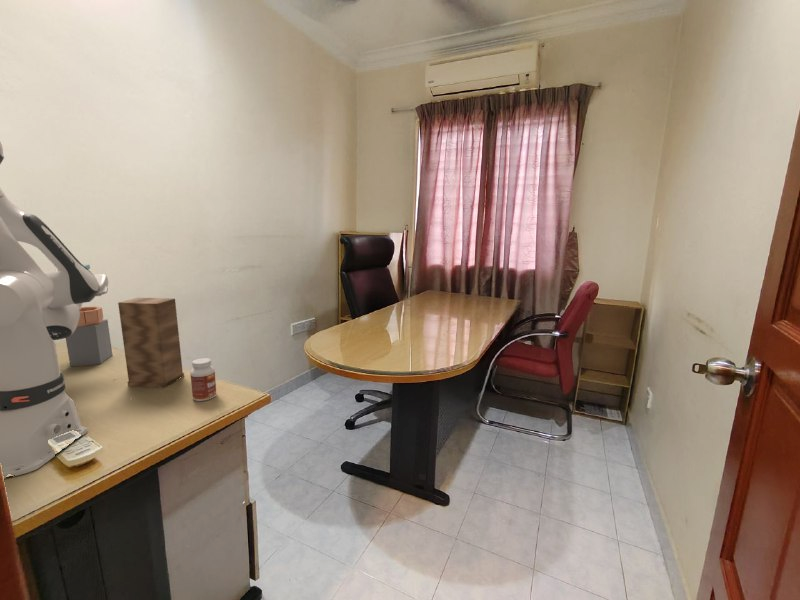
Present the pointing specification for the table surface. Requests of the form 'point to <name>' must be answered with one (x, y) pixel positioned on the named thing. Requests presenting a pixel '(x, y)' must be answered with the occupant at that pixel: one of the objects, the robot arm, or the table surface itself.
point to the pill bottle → (203, 380)
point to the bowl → (90, 316)
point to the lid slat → (87, 266)
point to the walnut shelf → (151, 341)
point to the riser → (89, 345)
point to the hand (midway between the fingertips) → (70, 270)
